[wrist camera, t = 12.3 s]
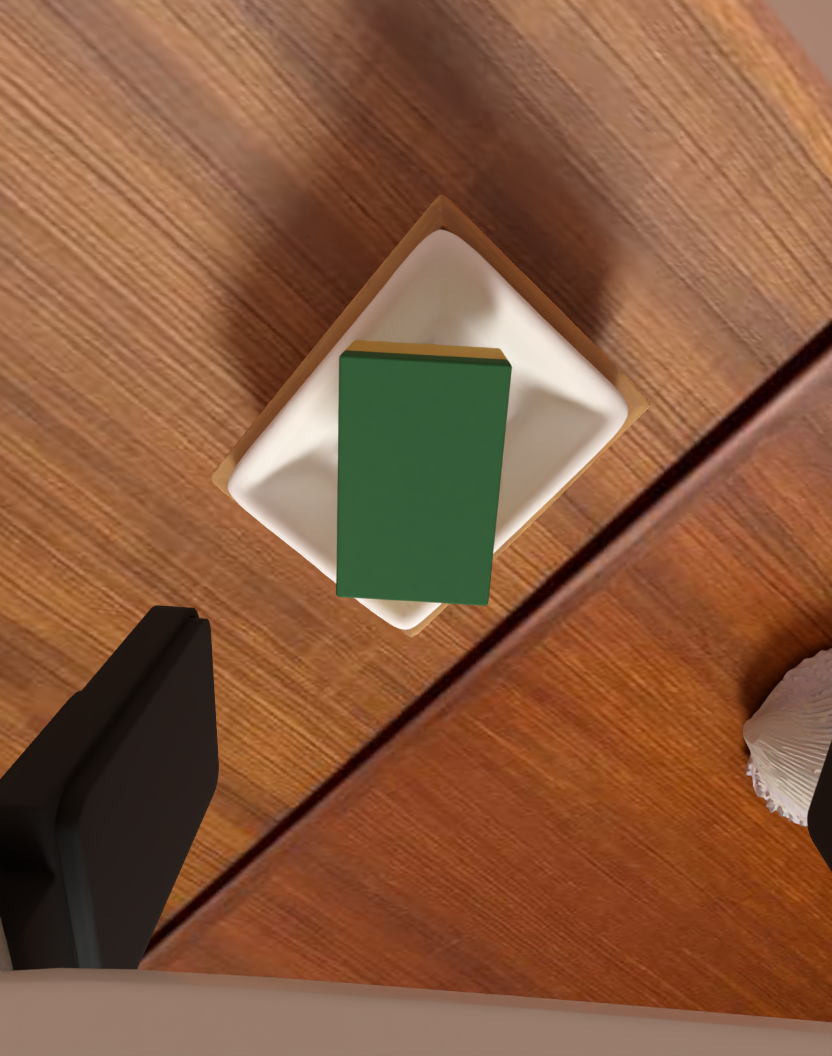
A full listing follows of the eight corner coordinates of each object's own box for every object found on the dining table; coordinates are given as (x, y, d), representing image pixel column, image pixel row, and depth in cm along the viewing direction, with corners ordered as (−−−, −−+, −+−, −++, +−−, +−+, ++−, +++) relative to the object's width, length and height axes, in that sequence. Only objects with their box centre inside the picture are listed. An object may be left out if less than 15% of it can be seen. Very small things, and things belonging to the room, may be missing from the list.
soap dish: (439, 199, 25) (440, 186, 20) (629, 384, 27) (669, 412, 22) (233, 453, 29) (193, 492, 24) (414, 598, 31) (410, 661, 26)
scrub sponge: (353, 339, 22) (338, 354, 19) (501, 348, 22) (512, 364, 19) (349, 552, 24) (335, 598, 21) (481, 559, 24) (488, 607, 21)
